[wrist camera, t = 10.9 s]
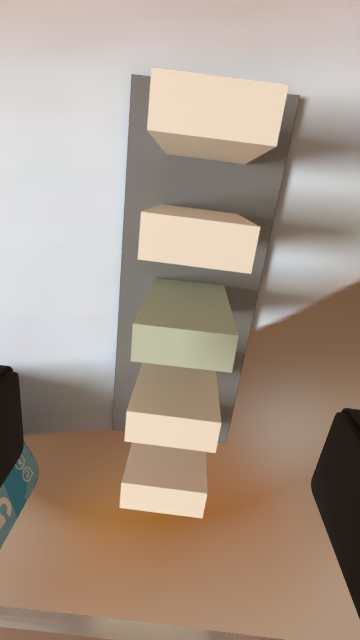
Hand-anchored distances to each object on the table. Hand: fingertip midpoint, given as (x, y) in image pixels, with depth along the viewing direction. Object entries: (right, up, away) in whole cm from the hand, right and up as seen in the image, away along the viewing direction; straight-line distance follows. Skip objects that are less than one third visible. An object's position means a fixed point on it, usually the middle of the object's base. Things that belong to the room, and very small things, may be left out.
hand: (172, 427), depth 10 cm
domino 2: (+1, +10, +13) cm, 16 cm away
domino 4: (0, 0, +16) cm, 16 cm away
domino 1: (+2, +14, +11) cm, 18 cm away
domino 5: (0, -4, +18) cm, 19 cm away
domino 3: (+1, +5, +15) cm, 15 cm away
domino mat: (+1, +5, +15) cm, 16 cm away
